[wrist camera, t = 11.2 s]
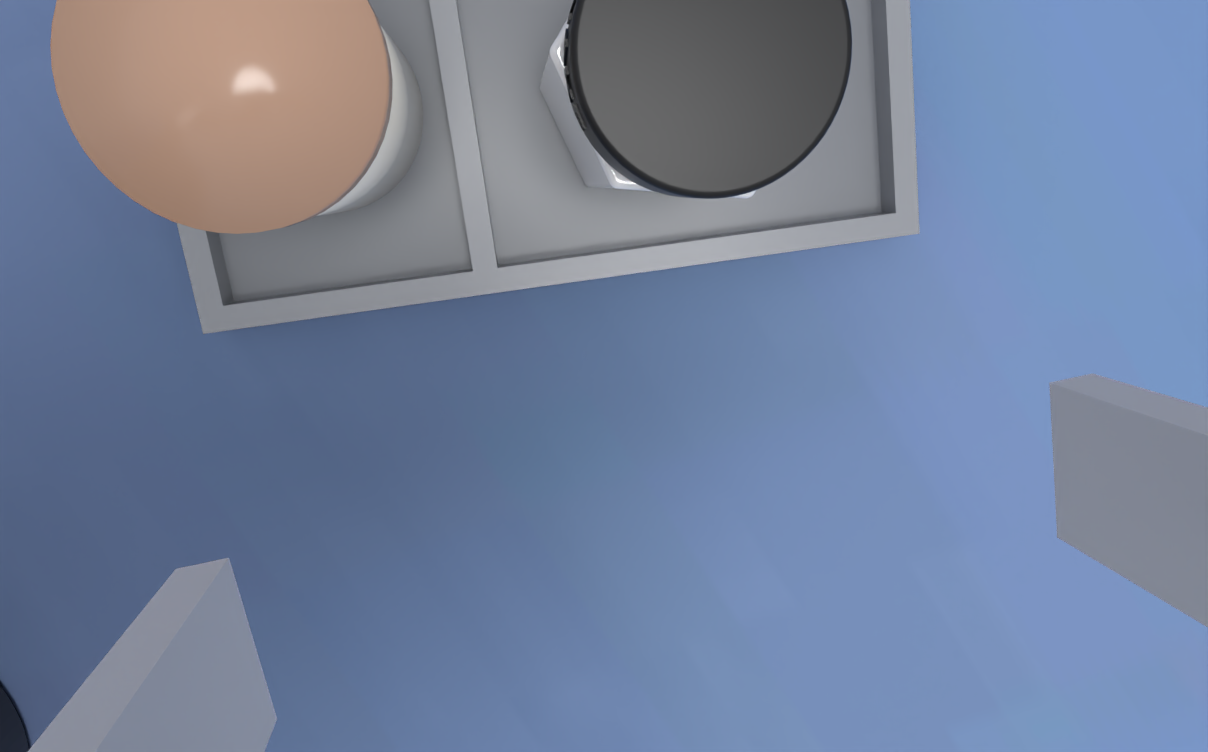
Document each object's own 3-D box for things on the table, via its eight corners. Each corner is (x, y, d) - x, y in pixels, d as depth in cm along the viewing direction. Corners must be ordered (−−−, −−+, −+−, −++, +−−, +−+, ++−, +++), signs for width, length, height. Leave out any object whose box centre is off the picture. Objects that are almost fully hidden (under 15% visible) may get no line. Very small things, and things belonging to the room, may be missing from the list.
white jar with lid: (238, 231, 35) (98, 253, 23) (189, 12, 33) (9, -87, 21) (444, 203, 35) (412, 211, 24) (408, -13, 33) (353, -122, 22)
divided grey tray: (219, 325, 36) (198, 336, 33) (123, -86, 32) (90, -109, 30) (898, 231, 38) (926, 234, 36) (880, -163, 35) (909, -190, 32)
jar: (626, -63, 34) (688, -194, 22) (785, 61, 36) (919, 0, 24) (504, 129, 35) (502, 100, 23) (663, 240, 37) (736, 266, 25)
